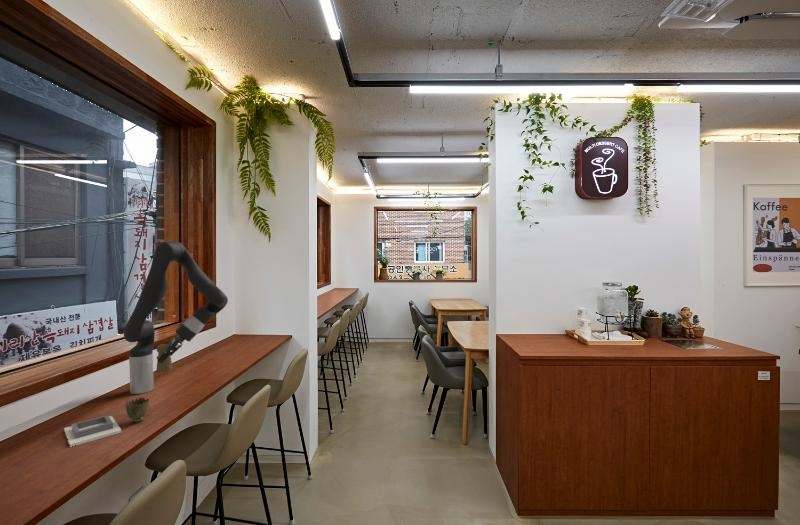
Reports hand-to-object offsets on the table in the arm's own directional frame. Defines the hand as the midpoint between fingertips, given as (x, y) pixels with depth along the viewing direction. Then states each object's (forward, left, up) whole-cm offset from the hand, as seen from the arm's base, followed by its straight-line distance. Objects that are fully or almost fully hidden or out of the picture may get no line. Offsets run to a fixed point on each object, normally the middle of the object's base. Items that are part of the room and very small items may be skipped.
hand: (158, 360), depth 158 cm
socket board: (+7, -23, -20) cm, 31 cm away
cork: (0, +2, -5) cm, 5 cm away
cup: (+10, -10, -20) cm, 24 cm away
